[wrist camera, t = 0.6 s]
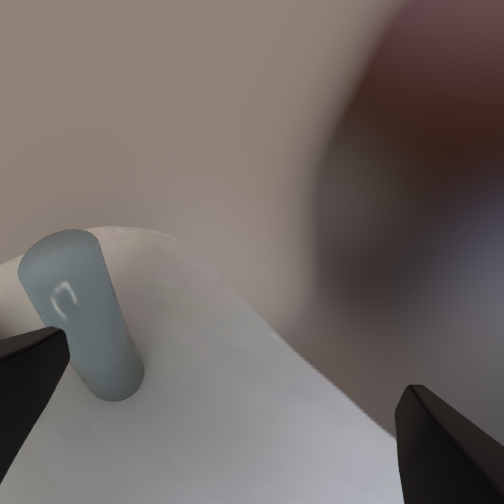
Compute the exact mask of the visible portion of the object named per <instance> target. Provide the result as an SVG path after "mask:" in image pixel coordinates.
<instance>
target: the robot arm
mask: <svg viewBox="0 0 504 504" xmlns="http://www.w3.org/2000/svg"><path fill="white" fill-rule="evenodd" d="M69 361H70V350H69V346H68V341H67V336H66V333H65V331H64V330H63V329H60V328H57V327H54V326H50V327H46V328H43V329H39V330H35V331H32V332H28V333H25V334H21V335H17V336H14V337H10V338H7V339H3V340H0V484H1V482H2V480H3V479H4V477H5V475H6V473H7V471H8V469H9V468H10V466H11V464H12V462H13V460H14V459H15V457H16V455H17V453H18V452H19V450H20V448H21V446H22V445H23V443H24V441H25V440H26V438H27V436H28V435H29V433H30V431H31V430H32V428H33V426H34V425H35V423H36V421H37V420H38V418H39V417H40V415H41V413H42V412H43V410H44V409H45V407H46V405H47V404H48V402H49V400H50V398H51V396H52V394H53V392H54V390H55V388H56V386H57V384H58V383H59V381H60V379H61V377H62V375H63V373H64V371H65V369H66V367H67V365H68V363H69ZM395 427H396V440H397V455H398V466H399V473H400V479H401V485H402V492H403V498H404V504H504V446H502V445H501V444H500V443H499V442H497V441H496V440H494V439H493V438H492V437H491V436H489V435H488V434H486V433H485V432H484V431H483V430H481V429H480V428H479V427H477V426H476V425H475V424H474V423H472V422H471V421H470V420H468V419H467V418H466V417H464V416H463V415H461V414H460V413H459V412H457V411H456V410H455V409H454V408H452V407H451V406H450V405H448V404H447V403H446V402H445V401H443V400H442V399H441V398H439V397H438V396H437V395H435V394H434V393H433V392H431V391H430V390H429V389H428V388H426V387H425V386H424V385H408V386H407V387H406V388H405V390H404V392H403V394H402V396H401V398H400V400H399V403H398V405H397V407H396V409H395Z"/></svg>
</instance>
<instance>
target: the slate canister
mask: <svg viewBox="0 0 504 504" xmlns="http://www.w3.org/2000/svg"><path fill="white" fill-rule="evenodd" d="M18 276H19V280H20V282H21V283H22V285H23V287H24V289H25V291H26V293H27V295H28V297H29V298H30V300H31V302H32V304H33V306H34V307H35V309H36V311H37V313H38V314H39V316H40V318H41V319H42V321H43V323H44V324H45V326H46V327H50V326H54V327H57V328H60V329H63V330H64V331H65V333H66V336H67V341H68V346H69V350H70V361H69V363H70V364H71V365H72V367H73V368H74V370H75V371H76V372H77V374H78V375H79V377H80V378H81V379H82V381H83V382H84V383H85V385H86V386H87V387H88V388H89V390H90V391H91V392H92V393H93V394H94V395H95V396H96V397H98V398H100V399H102V400H105V401H120V400H124V399H126V398H128V397H130V396H131V395H133V394H134V393H135V392H136V391H137V390H138V388H139V387H140V385H141V383H142V380H143V376H144V370H143V365H142V363H141V360H140V358H139V355H138V353H137V351H136V348H135V346H134V343H133V341H132V338H131V336H130V333H129V331H128V328H127V325H126V323H125V320H124V317H123V315H122V312H121V309H120V306H119V304H118V301H117V298H116V295H115V292H114V289H113V286H112V283H111V280H110V277H109V274H108V271H107V267H106V264H105V261H104V258H103V254H102V251H101V247H100V244H99V241H98V239H97V238H96V237H95V236H94V235H93V234H91V233H90V232H87V231H84V230H75V229H73V230H64V231H60V232H57V233H53V234H51V235H49V236H47V237H45V238H43V239H41V240H40V241H38V242H37V243H36V244H34V245H33V246H32V247H31V248H30V249H29V250H28V251H27V252H26V253H25V255H24V256H23V258H22V260H21V262H20V264H19V268H18Z"/></svg>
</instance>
